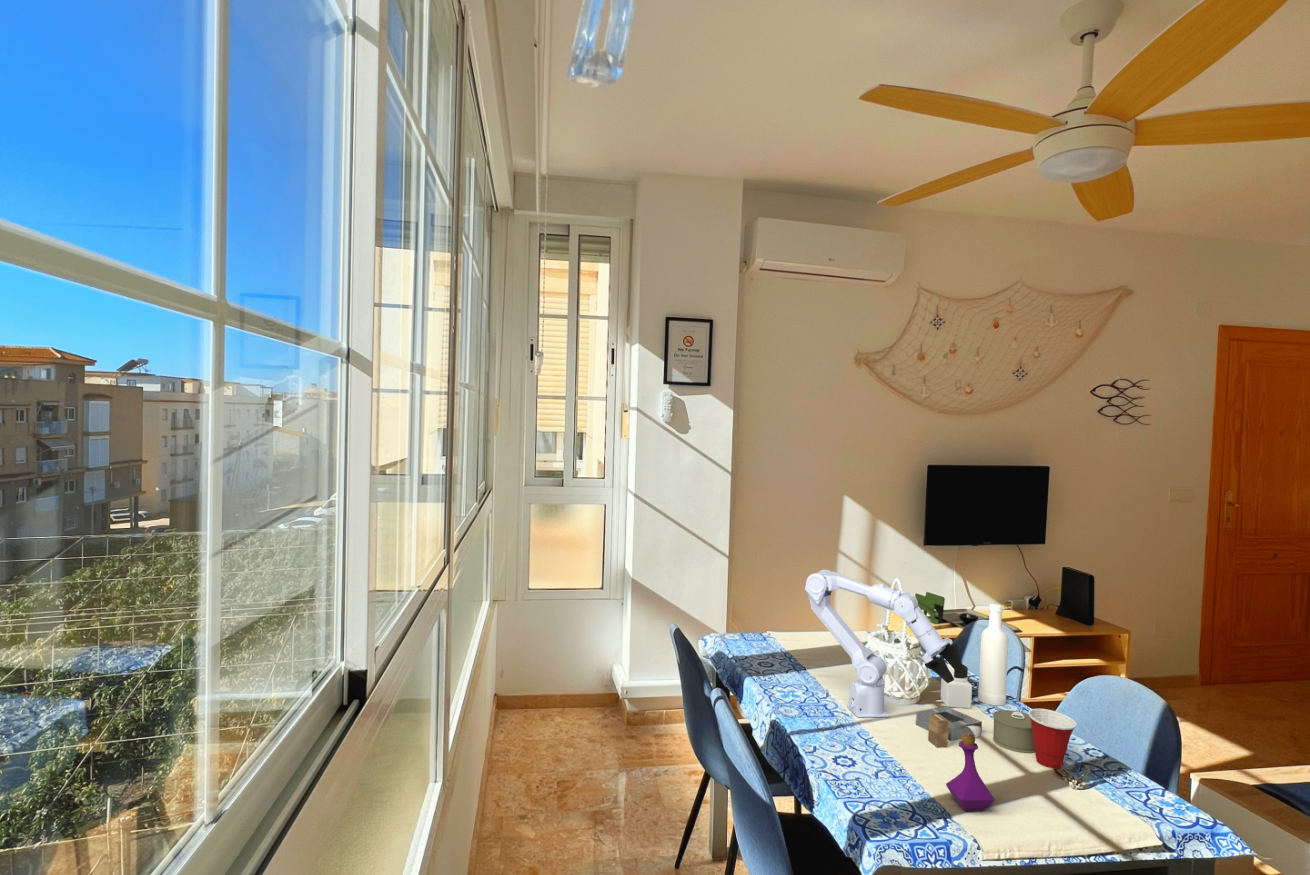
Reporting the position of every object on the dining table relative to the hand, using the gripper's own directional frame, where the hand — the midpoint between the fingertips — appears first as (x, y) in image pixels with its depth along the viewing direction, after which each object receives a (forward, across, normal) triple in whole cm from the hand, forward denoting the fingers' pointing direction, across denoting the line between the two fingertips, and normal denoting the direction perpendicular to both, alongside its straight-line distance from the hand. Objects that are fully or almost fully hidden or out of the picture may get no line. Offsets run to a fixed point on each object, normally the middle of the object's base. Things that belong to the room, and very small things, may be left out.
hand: (956, 676), depth 205 cm
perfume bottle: (+19, -42, -8) cm, 46 cm away
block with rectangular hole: (+11, -2, +11) cm, 15 cm away
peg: (+11, -14, +8) cm, 19 cm away
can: (+22, +2, -2) cm, 22 cm away
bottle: (+15, +31, +13) cm, 37 cm away
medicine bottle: (+10, +20, +18) cm, 29 cm away
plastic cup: (+27, -4, -10) cm, 29 cm away
